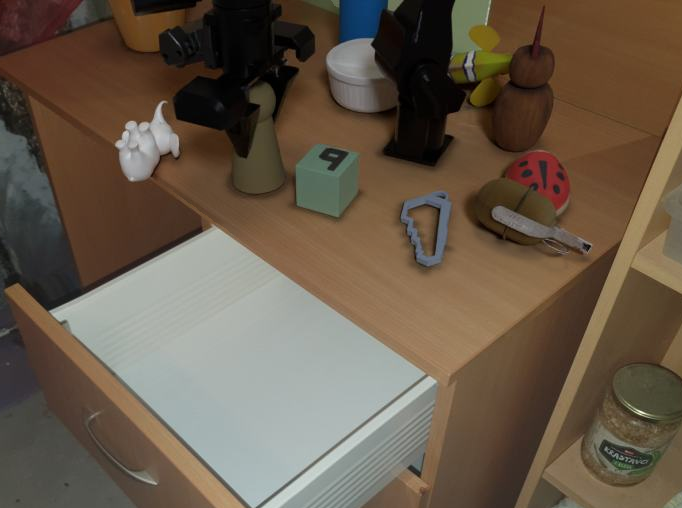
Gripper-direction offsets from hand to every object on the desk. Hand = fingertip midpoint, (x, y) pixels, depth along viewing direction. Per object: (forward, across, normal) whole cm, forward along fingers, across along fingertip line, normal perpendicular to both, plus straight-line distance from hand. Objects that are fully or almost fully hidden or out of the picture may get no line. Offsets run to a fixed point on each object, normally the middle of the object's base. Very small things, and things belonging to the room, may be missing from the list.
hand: (254, 146), depth 79 cm
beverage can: (+4, -33, -2) cm, 33 cm away
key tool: (+4, +2, +18) cm, 18 cm away
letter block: (+4, 0, +9) cm, 10 cm away
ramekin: (+4, -23, +4) cm, 23 cm away
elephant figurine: (-2, +3, -13) cm, 13 cm away
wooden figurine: (+4, -20, +24) cm, 31 cm away
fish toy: (-1, -24, +14) cm, 27 cm away
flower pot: (+4, -26, -33) cm, 42 cm away
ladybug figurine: (+4, -10, +29) cm, 31 cm away
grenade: (+1, -3, +24) cm, 24 cm away
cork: (+4, 0, 0) cm, 4 cm away
